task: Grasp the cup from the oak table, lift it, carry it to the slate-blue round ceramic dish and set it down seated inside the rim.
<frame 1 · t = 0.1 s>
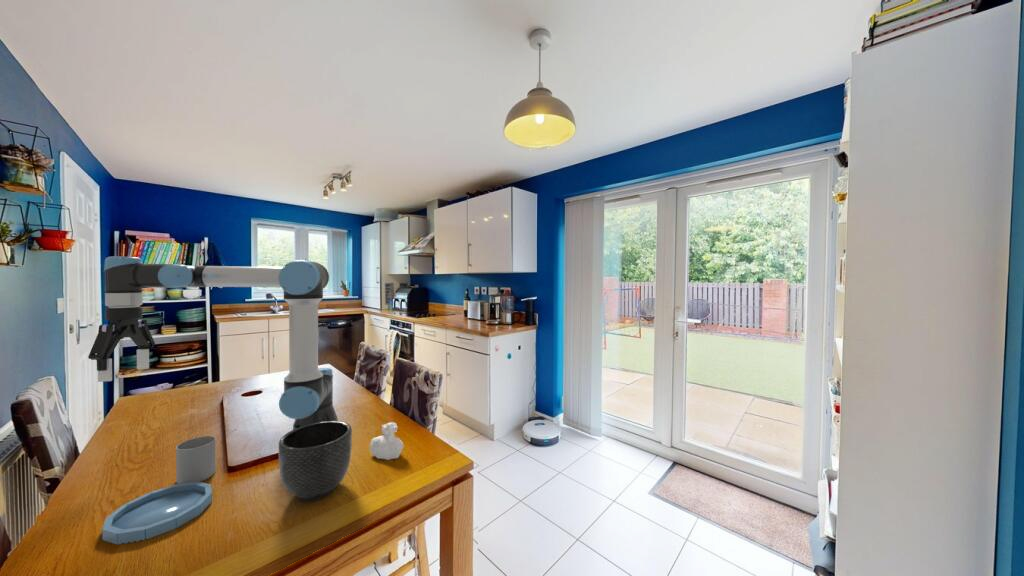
hand: (125, 374, 102), 28 cm above the table, fingers open, 13 cm apart
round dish: (162, 514, 81), on the table
cup: (196, 476, 97), on the table
planter: (317, 491, 90), on the table
duck figurine: (387, 455, 109), on the table
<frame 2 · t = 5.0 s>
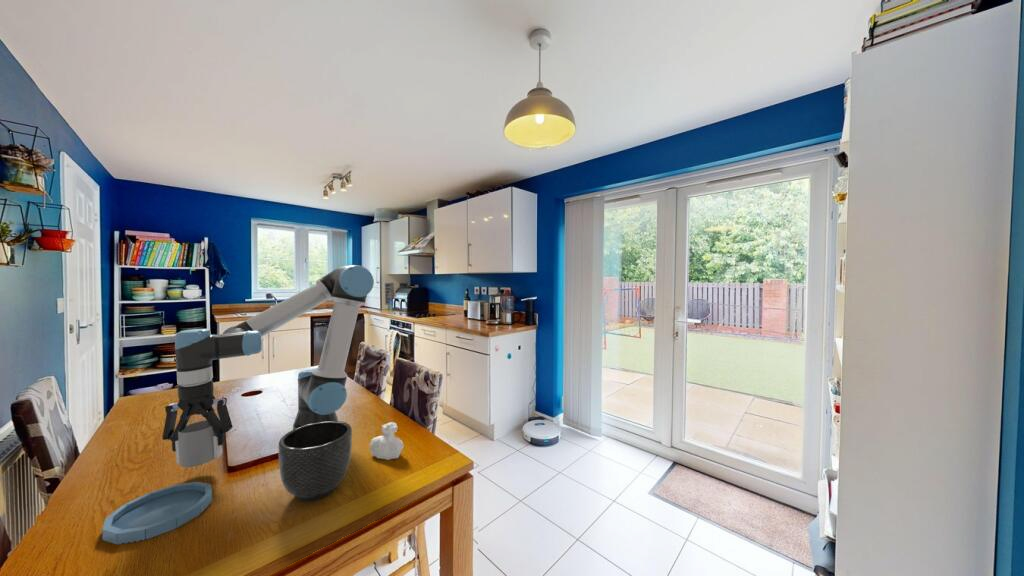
hand: (200, 458, 97), 5 cm above the table, fingers closed on cup, 8 cm apart
cup: (200, 459, 97), point 4 cm above the table, touching gripper
everything else where it was.
when the fingers open (3 cm above the table, at t = 9.7 s): cup drops 2 cm, resting on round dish.
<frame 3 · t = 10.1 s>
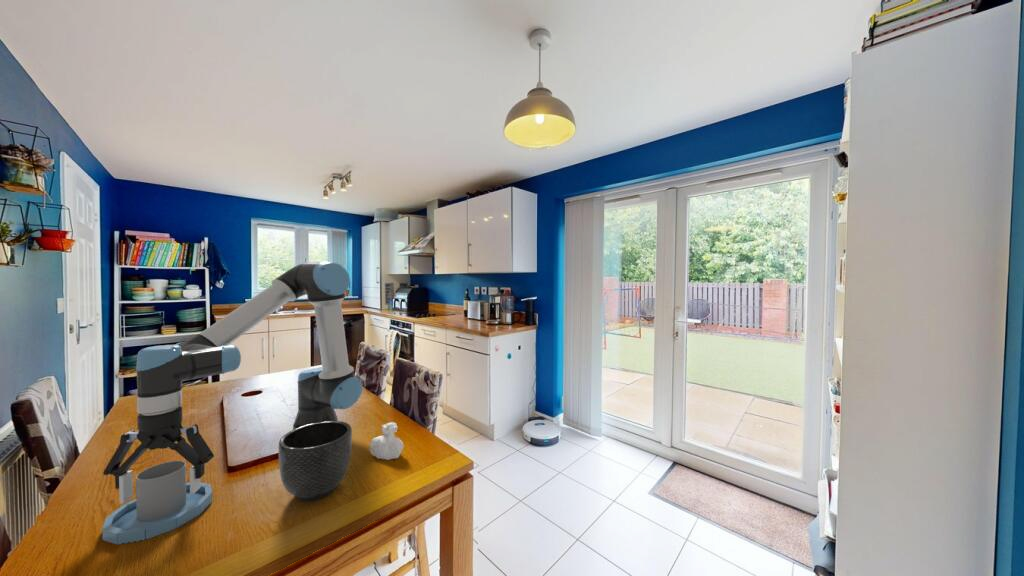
hand: (161, 495, 81), 5 cm above the table, fingers open, 13 cm apart
cup: (162, 510, 81), point 1 cm above the table, touching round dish
everything else where it was.
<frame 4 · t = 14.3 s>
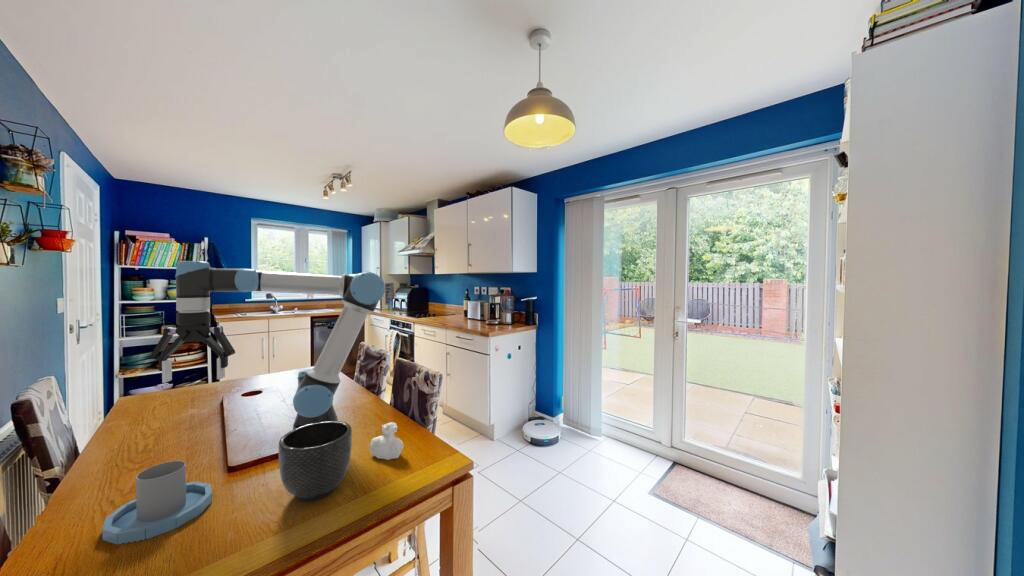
hand: (194, 379, 102), 27 cm above the table, fingers open, 13 cm apart
nothing on the table moved.
at the end: cup 0.1 cm from the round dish (horizontally); cup tilted 0°; cup point 0.8 cm above the table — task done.
